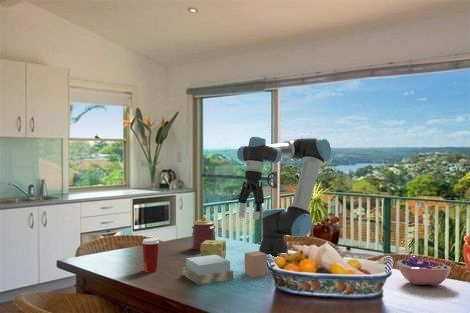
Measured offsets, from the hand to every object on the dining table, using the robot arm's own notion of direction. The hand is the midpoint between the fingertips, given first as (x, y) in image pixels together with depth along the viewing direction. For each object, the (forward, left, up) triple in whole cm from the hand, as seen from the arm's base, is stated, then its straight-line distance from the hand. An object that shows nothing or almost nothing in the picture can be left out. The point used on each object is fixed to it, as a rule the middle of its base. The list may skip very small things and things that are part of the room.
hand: (248, 218), depth 203 cm
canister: (-2, -52, -24) cm, 57 cm away
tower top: (+20, 0, -20) cm, 28 cm away
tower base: (+20, 0, -24) cm, 31 cm away
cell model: (-50, +52, -24) cm, 76 cm away
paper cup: (+38, -22, -24) cm, 50 cm away
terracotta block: (0, +6, -23) cm, 24 cm away
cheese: (+7, -22, -24) cm, 33 cm away
